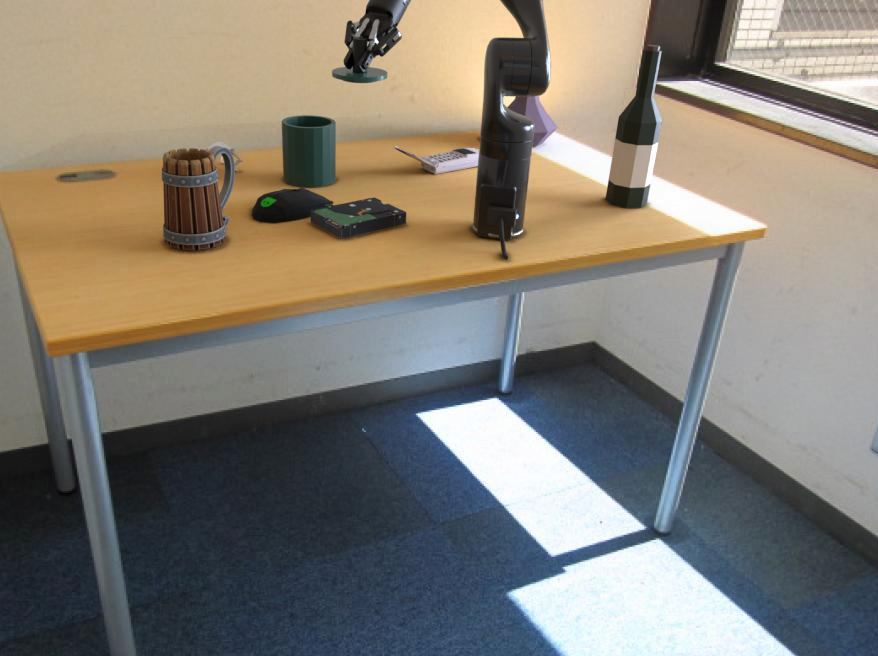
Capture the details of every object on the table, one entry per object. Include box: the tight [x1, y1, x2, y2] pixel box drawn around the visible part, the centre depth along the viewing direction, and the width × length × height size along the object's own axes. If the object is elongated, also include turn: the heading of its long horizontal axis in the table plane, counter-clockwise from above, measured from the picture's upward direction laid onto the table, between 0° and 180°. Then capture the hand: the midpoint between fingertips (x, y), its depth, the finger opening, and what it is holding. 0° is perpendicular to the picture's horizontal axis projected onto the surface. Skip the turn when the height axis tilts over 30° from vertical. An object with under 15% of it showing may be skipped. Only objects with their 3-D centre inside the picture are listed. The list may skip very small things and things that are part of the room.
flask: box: [506, 96, 559, 148], centre depth 214 cm, size 16×16×20 cm
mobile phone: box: [393, 145, 479, 175], centre depth 195 cm, size 6×6×25 cm
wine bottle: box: [604, 44, 663, 209], centre depth 173 cm, size 8×8×30 cm
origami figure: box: [205, 141, 244, 173], centre depth 189 cm, size 12×8×5 cm
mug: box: [161, 146, 236, 252], centre depth 151 cm, size 16×11×15 cm
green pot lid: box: [331, 37, 388, 84], centre depth 183 cm, size 12×12×8 cm
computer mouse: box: [251, 187, 334, 224], centre depth 168 cm, size 11×16×4 cm
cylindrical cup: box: [281, 114, 337, 188], centre depth 183 cm, size 11×11×12 cm
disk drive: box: [309, 197, 407, 239], centre depth 163 cm, size 10×3×15 cm
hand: (353, 67), depth 182 cm, fingers closed on green pot lid, 3 cm apart
